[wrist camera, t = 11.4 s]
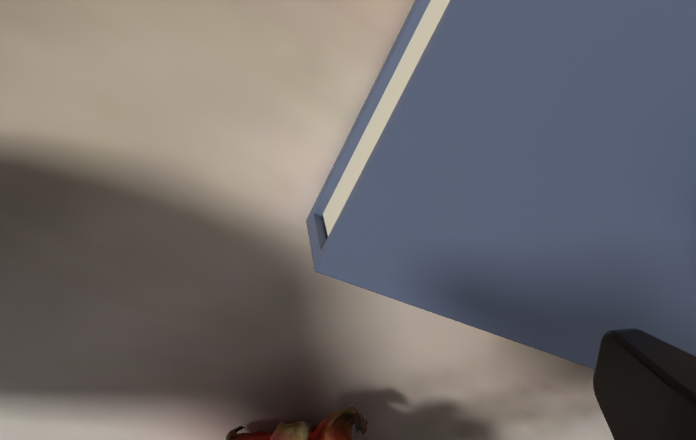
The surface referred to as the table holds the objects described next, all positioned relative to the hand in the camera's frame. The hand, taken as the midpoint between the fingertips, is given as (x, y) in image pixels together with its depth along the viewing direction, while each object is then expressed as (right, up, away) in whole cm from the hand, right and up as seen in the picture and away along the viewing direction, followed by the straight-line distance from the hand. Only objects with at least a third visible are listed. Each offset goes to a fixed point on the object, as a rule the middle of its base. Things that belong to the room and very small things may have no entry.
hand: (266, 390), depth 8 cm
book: (+9, +4, +14) cm, 17 cm away
